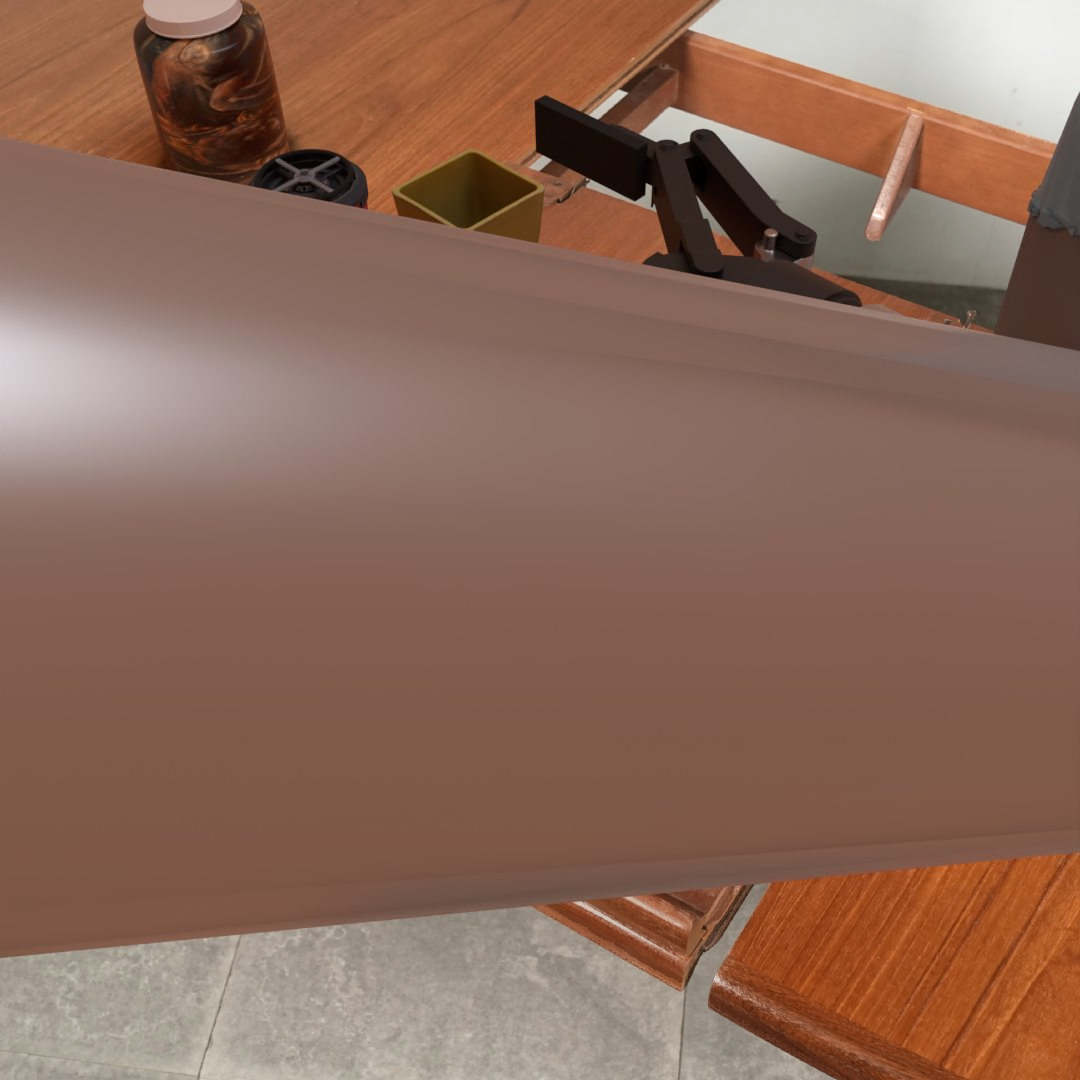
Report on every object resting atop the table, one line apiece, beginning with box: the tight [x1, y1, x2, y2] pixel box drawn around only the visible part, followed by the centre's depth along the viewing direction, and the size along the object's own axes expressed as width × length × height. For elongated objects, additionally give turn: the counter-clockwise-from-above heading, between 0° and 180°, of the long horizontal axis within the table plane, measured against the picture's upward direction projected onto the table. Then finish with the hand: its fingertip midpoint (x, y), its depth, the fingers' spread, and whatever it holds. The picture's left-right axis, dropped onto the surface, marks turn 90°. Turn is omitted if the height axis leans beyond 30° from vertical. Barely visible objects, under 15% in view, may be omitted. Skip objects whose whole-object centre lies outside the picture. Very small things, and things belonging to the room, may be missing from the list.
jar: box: [132, 0, 290, 186], centre depth 108 cm, size 12×12×15 cm
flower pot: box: [391, 147, 546, 244], centre depth 96 cm, size 9×9×9 cm
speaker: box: [248, 148, 369, 210], centre depth 83 cm, size 8×8×18 cm
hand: (436, 180), depth 55 cm, fingers open, 13 cm apart
